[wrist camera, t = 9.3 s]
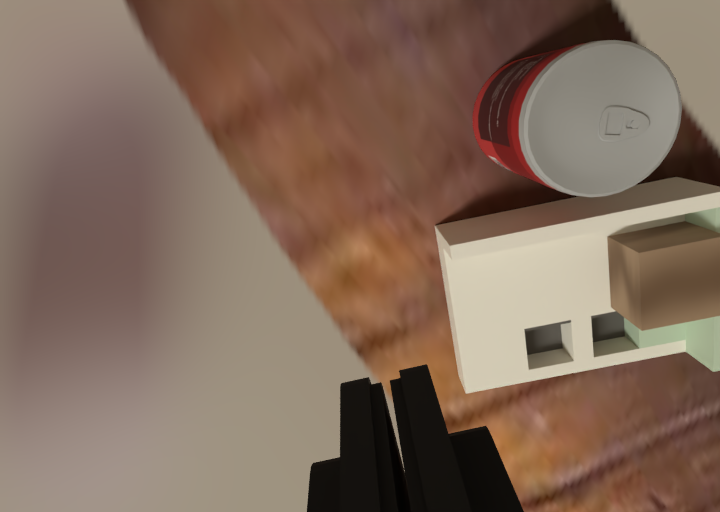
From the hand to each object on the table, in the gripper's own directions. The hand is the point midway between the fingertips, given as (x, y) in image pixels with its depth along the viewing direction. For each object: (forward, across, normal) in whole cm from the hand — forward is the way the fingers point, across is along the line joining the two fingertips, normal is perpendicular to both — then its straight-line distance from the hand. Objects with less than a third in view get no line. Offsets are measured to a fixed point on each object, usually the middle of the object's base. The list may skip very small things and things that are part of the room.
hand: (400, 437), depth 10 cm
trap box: (+28, -14, +12) cm, 33 cm away
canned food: (+28, -12, -2) cm, 31 cm away
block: (+25, -19, +10) cm, 33 cm away
